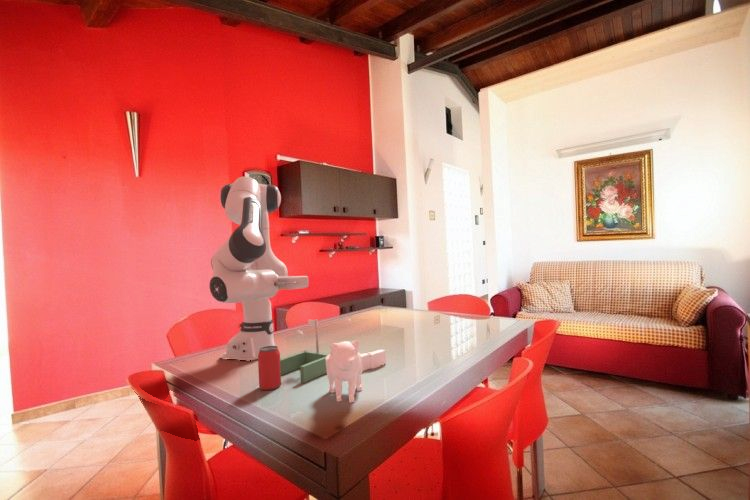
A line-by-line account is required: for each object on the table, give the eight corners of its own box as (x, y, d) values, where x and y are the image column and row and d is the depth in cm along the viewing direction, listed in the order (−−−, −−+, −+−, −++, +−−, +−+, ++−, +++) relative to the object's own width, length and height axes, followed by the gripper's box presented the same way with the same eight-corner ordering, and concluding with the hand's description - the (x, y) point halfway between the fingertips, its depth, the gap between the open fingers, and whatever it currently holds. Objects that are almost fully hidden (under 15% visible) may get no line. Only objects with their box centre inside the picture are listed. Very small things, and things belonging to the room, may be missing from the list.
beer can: (275, 391, 107) (273, 351, 107) (255, 390, 108) (253, 350, 108) (285, 383, 113) (283, 345, 113) (265, 382, 114) (264, 345, 114)
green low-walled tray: (304, 382, 113) (301, 328, 113) (274, 375, 121) (272, 325, 121) (334, 369, 125) (332, 320, 125) (306, 364, 133) (304, 318, 133)
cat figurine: (325, 381, 113) (323, 328, 114) (358, 377, 115) (356, 325, 115) (328, 415, 89) (325, 348, 89) (370, 410, 90) (366, 344, 91)
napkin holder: (388, 361, 132) (387, 346, 132) (392, 371, 121) (392, 354, 121) (347, 365, 130) (347, 349, 131) (348, 375, 119) (347, 358, 119)
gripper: (287, 273, 103) (320, 270, 115) (244, 273, 115) (278, 271, 126) (288, 295, 103) (321, 290, 115) (245, 293, 115) (279, 289, 126)
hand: (298, 280), depth 120 cm, fingers open, 4 cm apart
